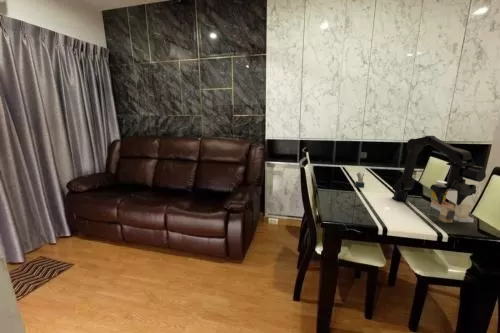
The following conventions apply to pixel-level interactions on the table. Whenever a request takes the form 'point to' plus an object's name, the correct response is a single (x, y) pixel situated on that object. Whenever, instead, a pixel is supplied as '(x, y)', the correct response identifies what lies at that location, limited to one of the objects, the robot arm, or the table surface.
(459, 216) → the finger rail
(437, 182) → the supplement bottle
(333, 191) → the table surface
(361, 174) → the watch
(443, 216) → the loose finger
